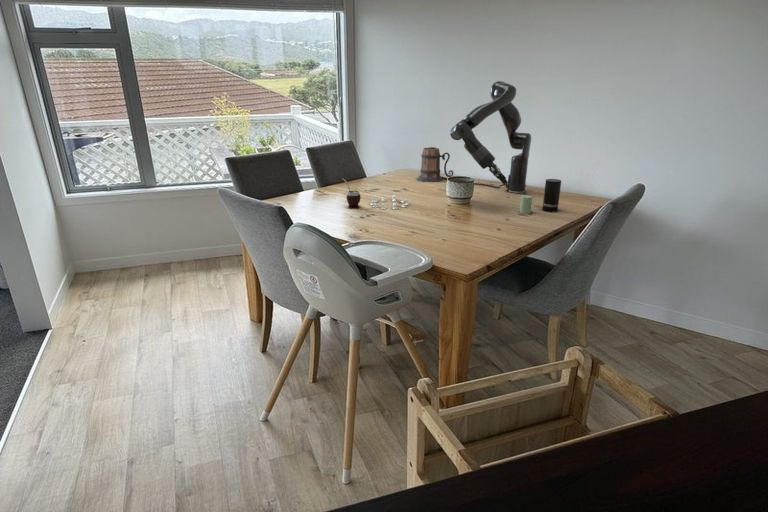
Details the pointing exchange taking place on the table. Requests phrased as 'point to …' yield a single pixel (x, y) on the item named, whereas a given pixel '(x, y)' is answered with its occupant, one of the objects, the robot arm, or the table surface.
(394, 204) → the game piece set
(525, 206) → the cap
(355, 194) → the mate gourd
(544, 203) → the thermos
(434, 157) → the tankard
